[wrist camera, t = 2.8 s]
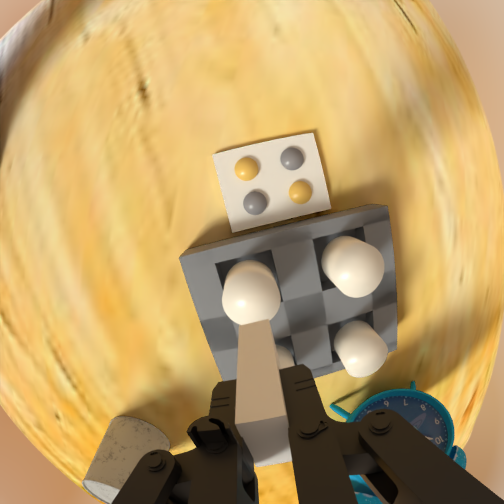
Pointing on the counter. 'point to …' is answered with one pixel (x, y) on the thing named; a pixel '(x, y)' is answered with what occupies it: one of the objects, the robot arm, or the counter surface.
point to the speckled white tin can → (121, 455)
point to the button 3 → (353, 266)
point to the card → (271, 181)
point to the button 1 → (250, 293)
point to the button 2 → (284, 357)
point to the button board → (296, 287)
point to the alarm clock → (418, 415)
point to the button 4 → (360, 349)
